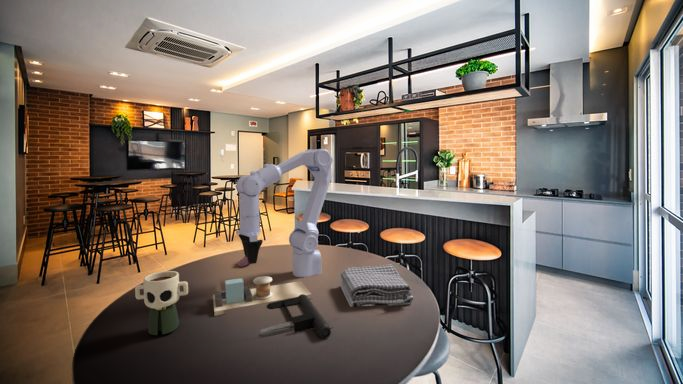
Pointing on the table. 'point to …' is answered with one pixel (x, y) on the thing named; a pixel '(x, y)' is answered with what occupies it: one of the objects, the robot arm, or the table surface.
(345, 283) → the towel
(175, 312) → the character mug
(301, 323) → the door handle
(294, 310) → the table surface
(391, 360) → the table surface
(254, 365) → the table surface
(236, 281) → the pale blue block
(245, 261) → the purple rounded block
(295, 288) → the winding board
